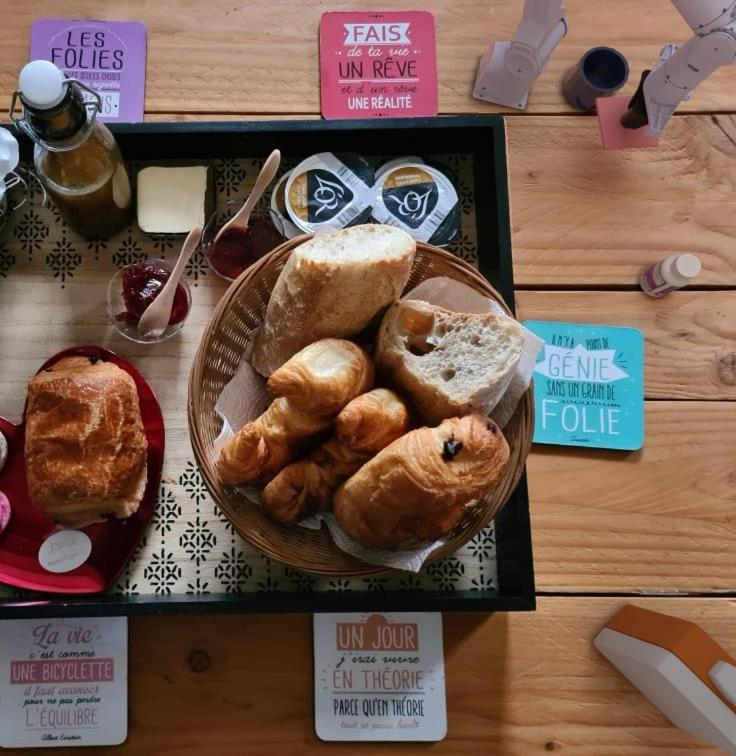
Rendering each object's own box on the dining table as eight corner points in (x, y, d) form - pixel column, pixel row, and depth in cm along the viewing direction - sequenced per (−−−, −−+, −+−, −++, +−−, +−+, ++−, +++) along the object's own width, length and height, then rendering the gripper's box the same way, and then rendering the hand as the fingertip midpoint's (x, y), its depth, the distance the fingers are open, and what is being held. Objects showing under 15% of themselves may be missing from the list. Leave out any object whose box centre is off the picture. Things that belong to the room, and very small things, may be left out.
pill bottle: (673, 275, 126) (710, 257, 116) (663, 302, 125) (699, 287, 115) (644, 262, 126) (679, 243, 117) (633, 289, 125) (667, 273, 116)
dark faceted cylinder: (558, 105, 130) (575, 85, 124) (567, 63, 131) (585, 41, 125) (604, 116, 130) (624, 97, 124) (613, 74, 131) (633, 53, 125)
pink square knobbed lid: (603, 150, 120) (617, 138, 116) (594, 99, 121) (608, 86, 117) (657, 146, 120) (672, 134, 116) (648, 95, 121) (663, 82, 117)
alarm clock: (711, 685, 116) (815, 727, 95) (675, 727, 115) (773, 778, 94) (622, 600, 118) (706, 623, 97) (587, 640, 117) (664, 672, 96)
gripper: (702, 123, 104) (647, 164, 118) (719, 33, 106) (663, 83, 120) (654, 110, 104) (605, 153, 118) (672, 21, 107) (621, 73, 120)
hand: (631, 117), depth 119 cm, fingers closed on pink square knobbed lid, 2 cm apart
